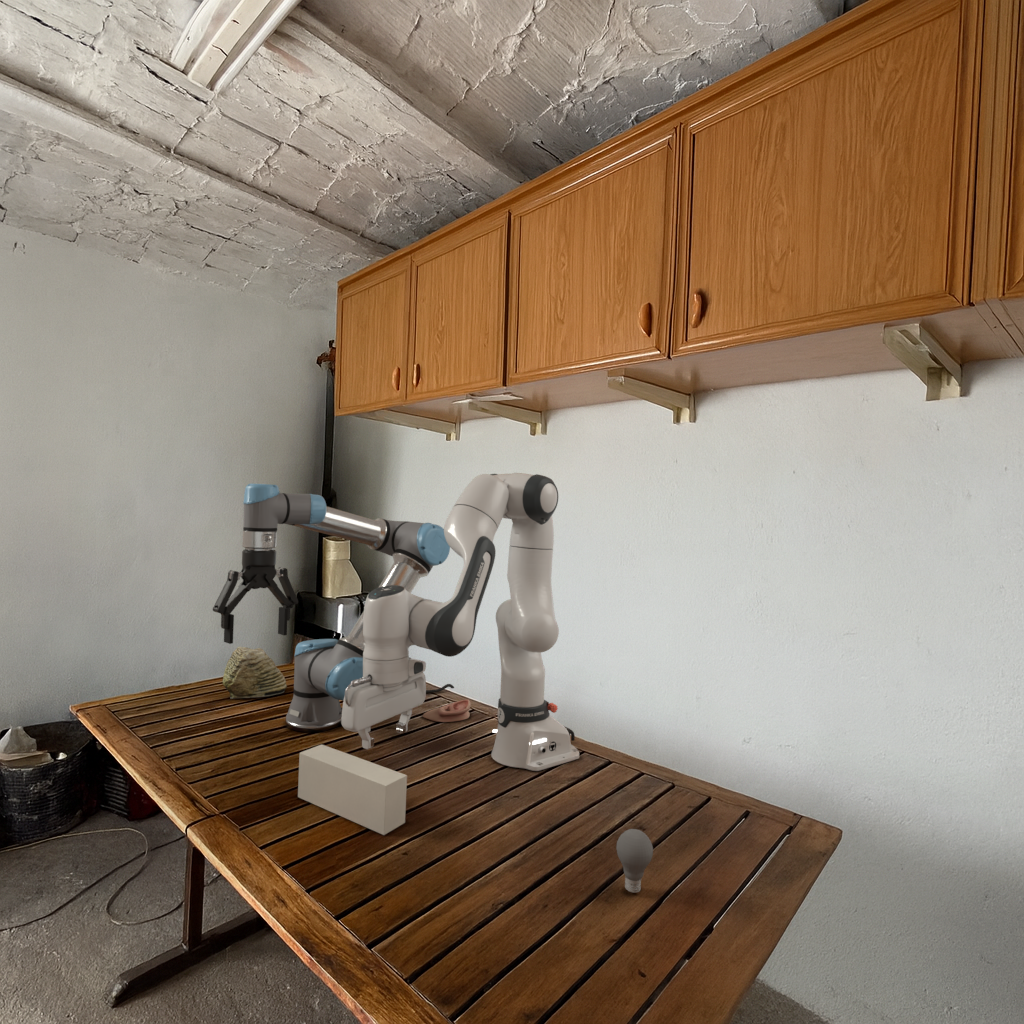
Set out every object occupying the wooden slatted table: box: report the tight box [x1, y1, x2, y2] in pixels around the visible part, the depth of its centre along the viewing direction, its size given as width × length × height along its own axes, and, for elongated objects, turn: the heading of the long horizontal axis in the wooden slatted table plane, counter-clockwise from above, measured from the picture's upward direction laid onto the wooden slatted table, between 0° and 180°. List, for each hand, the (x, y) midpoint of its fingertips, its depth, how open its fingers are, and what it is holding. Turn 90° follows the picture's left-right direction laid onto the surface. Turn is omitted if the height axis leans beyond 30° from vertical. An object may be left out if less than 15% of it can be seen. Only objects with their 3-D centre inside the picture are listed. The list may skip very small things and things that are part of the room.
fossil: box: [222, 646, 288, 699], centre depth 198 cm, size 9×18×15 cm, turn 132°
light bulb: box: [615, 828, 654, 894], centre depth 106 cm, size 6×6×10 cm
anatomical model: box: [422, 699, 472, 723], centre depth 186 cm, size 13×4×12 cm
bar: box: [297, 744, 408, 836], centre depth 129 cm, size 25×6×9 cm, turn 57°
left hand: (256, 638), depth 150 cm, fingers open, 13 cm apart
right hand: (385, 739), depth 124 cm, fingers open, 8 cm apart
